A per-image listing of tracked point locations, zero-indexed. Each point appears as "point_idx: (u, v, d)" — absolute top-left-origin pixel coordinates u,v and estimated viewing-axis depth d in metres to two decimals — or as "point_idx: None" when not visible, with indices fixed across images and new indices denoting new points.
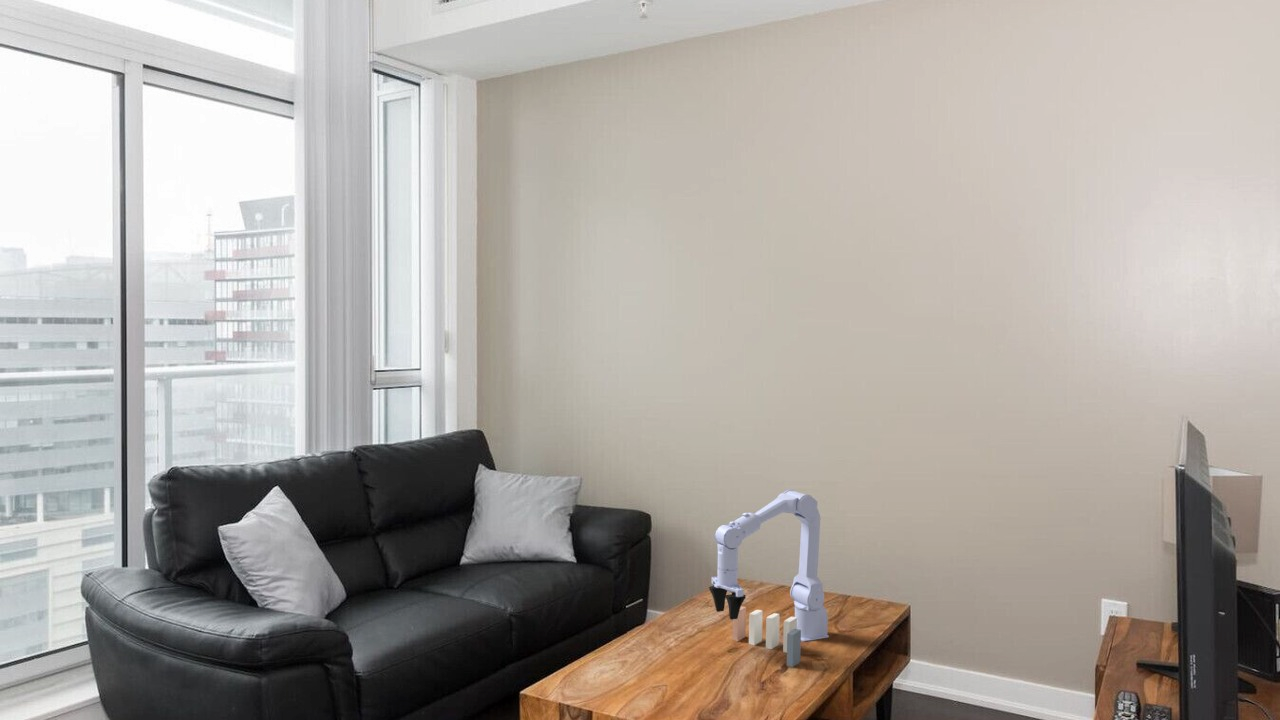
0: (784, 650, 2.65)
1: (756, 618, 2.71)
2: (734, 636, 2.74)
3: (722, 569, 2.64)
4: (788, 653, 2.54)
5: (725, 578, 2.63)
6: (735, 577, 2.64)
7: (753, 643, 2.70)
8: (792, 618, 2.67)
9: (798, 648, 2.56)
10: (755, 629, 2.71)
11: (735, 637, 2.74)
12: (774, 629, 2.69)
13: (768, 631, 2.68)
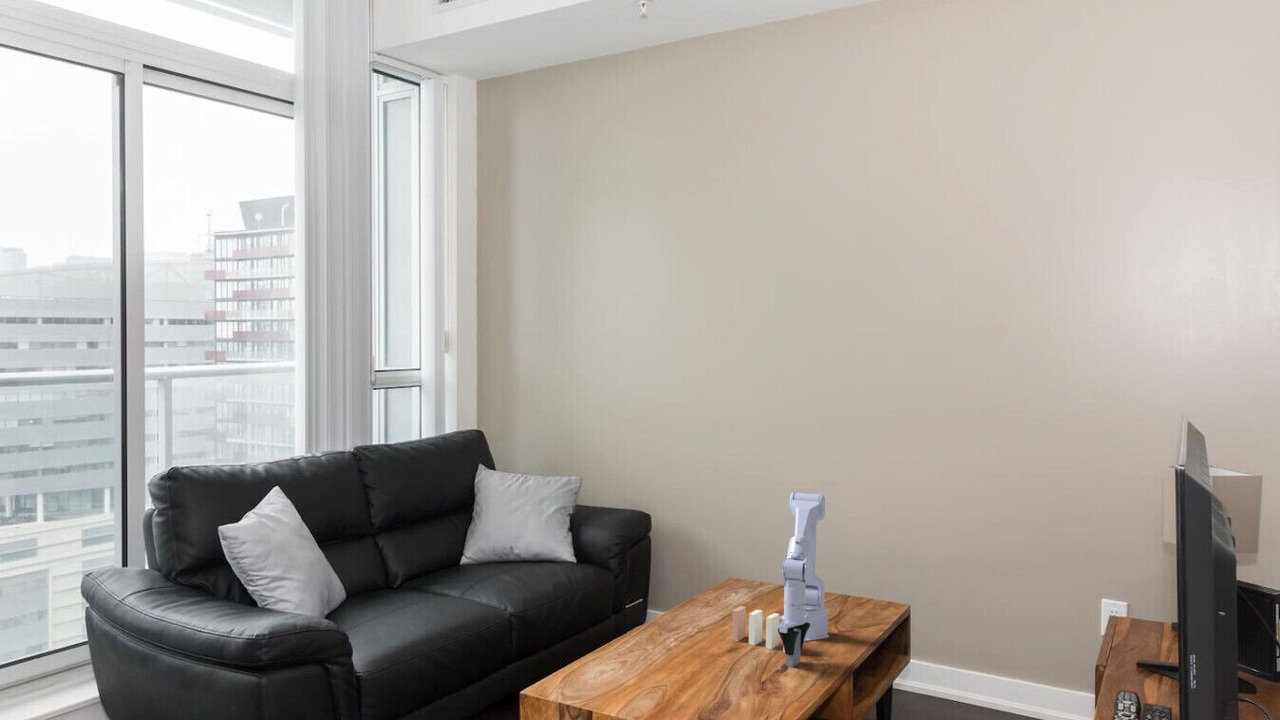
0: (784, 650, 2.65)
1: (756, 618, 2.71)
2: (734, 636, 2.74)
3: (784, 601, 2.56)
4: None
5: (784, 611, 2.55)
6: (794, 613, 2.53)
7: (753, 643, 2.70)
8: None
9: (798, 648, 2.56)
10: (755, 629, 2.71)
11: (735, 637, 2.74)
12: (774, 629, 2.69)
13: (768, 631, 2.68)
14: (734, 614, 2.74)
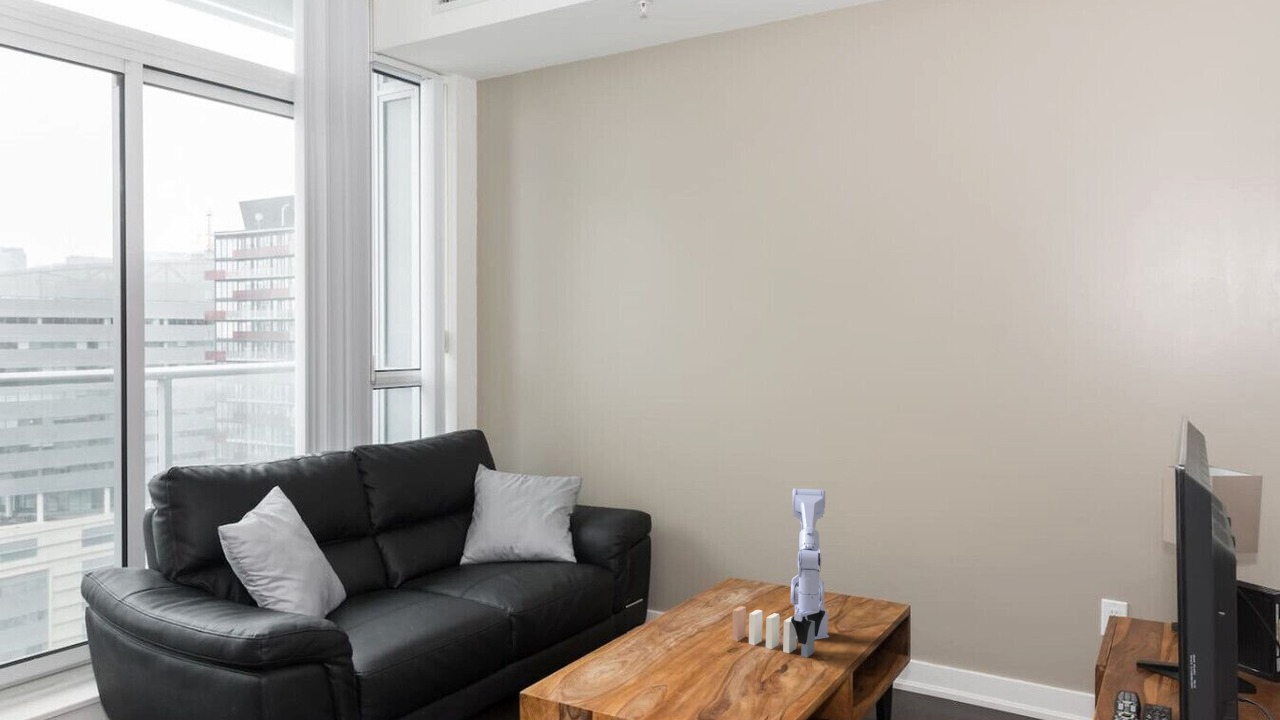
0: (784, 650, 2.65)
1: (756, 618, 2.71)
2: (734, 636, 2.74)
3: (798, 591, 2.63)
4: (803, 644, 2.62)
5: (799, 600, 2.62)
6: (808, 602, 2.60)
7: (753, 643, 2.70)
8: None
9: (812, 639, 2.64)
10: (755, 629, 2.71)
11: (735, 637, 2.74)
12: (775, 629, 2.69)
13: (768, 631, 2.68)
14: (734, 614, 2.74)
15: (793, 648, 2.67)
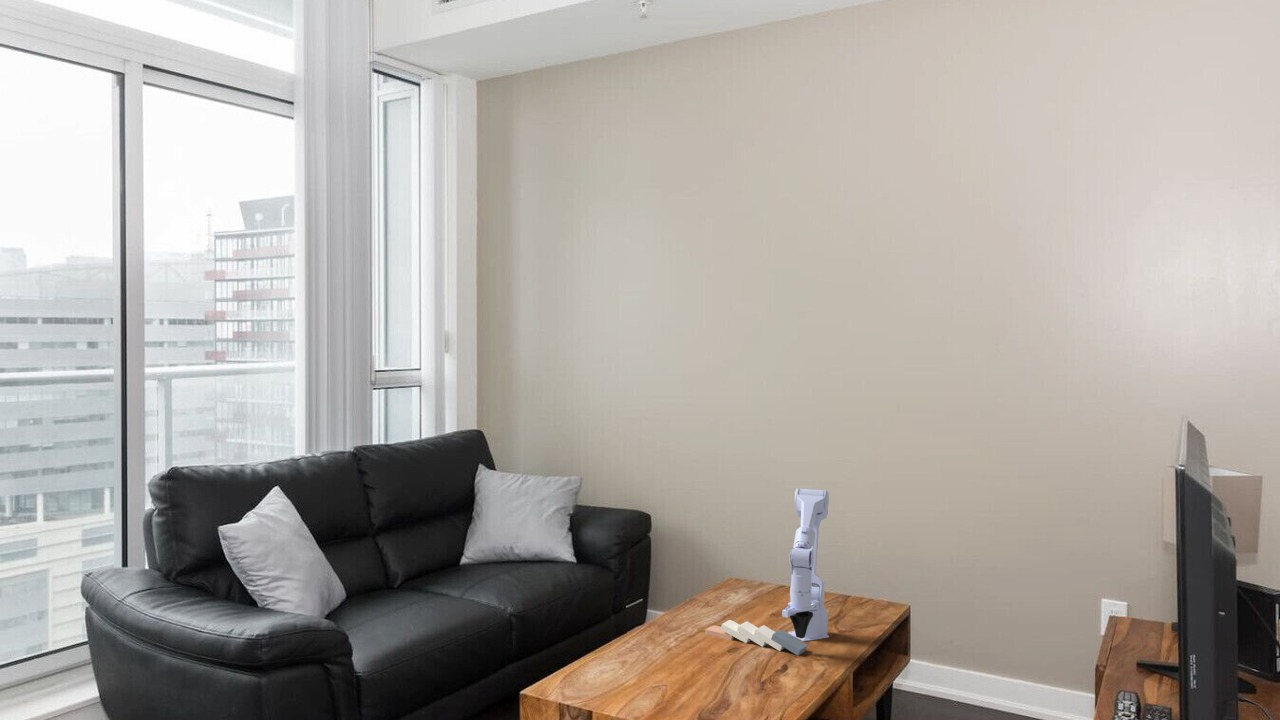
0: (778, 649, 2.66)
1: (727, 625, 2.77)
2: (727, 637, 2.75)
3: None
4: (787, 647, 2.64)
5: (791, 597, 2.64)
6: (798, 600, 2.62)
7: (746, 637, 2.72)
8: None
9: (792, 639, 2.67)
10: (735, 630, 2.74)
11: (728, 637, 2.75)
12: (752, 630, 2.73)
13: (748, 635, 2.71)
14: None
15: None
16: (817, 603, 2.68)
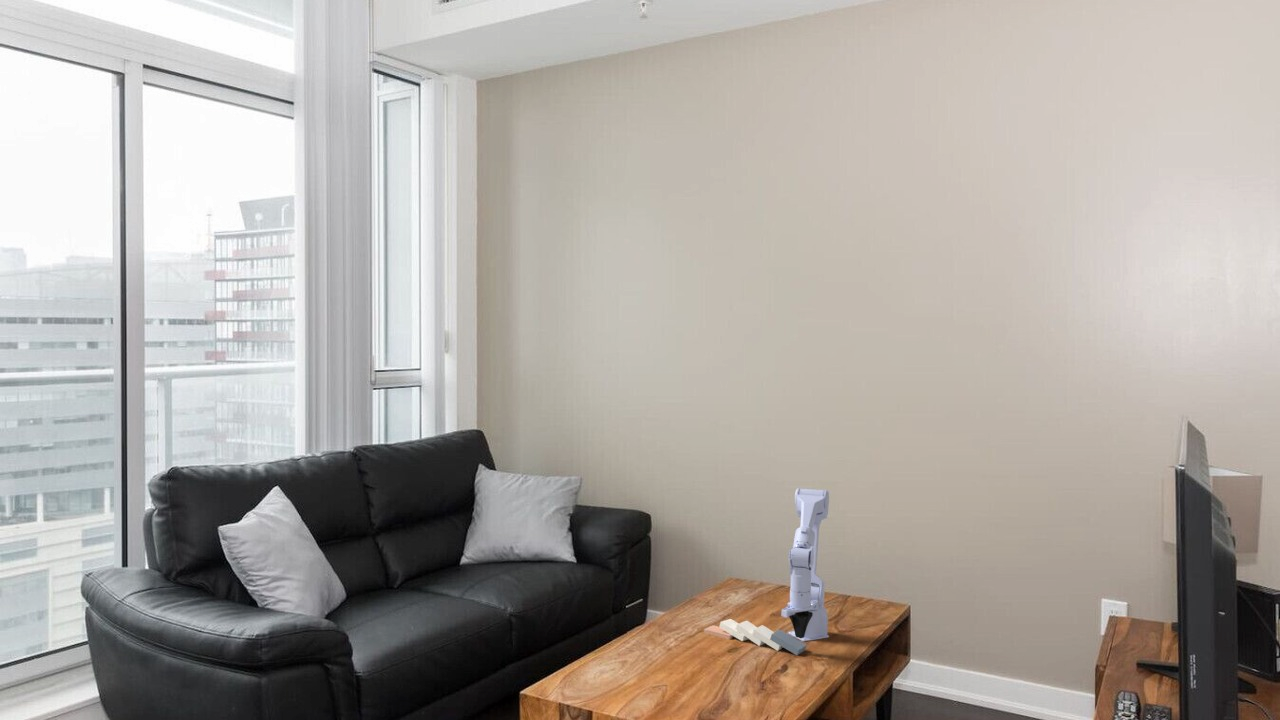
0: (776, 648, 2.66)
1: (726, 623, 2.79)
2: (725, 637, 2.76)
3: None
4: (786, 647, 2.64)
5: (790, 597, 2.64)
6: (798, 600, 2.62)
7: (742, 635, 2.73)
8: None
9: (791, 638, 2.67)
10: (732, 628, 2.76)
11: (726, 637, 2.76)
12: (751, 629, 2.74)
13: (746, 634, 2.73)
14: (707, 633, 2.80)
15: None
16: (817, 603, 2.68)
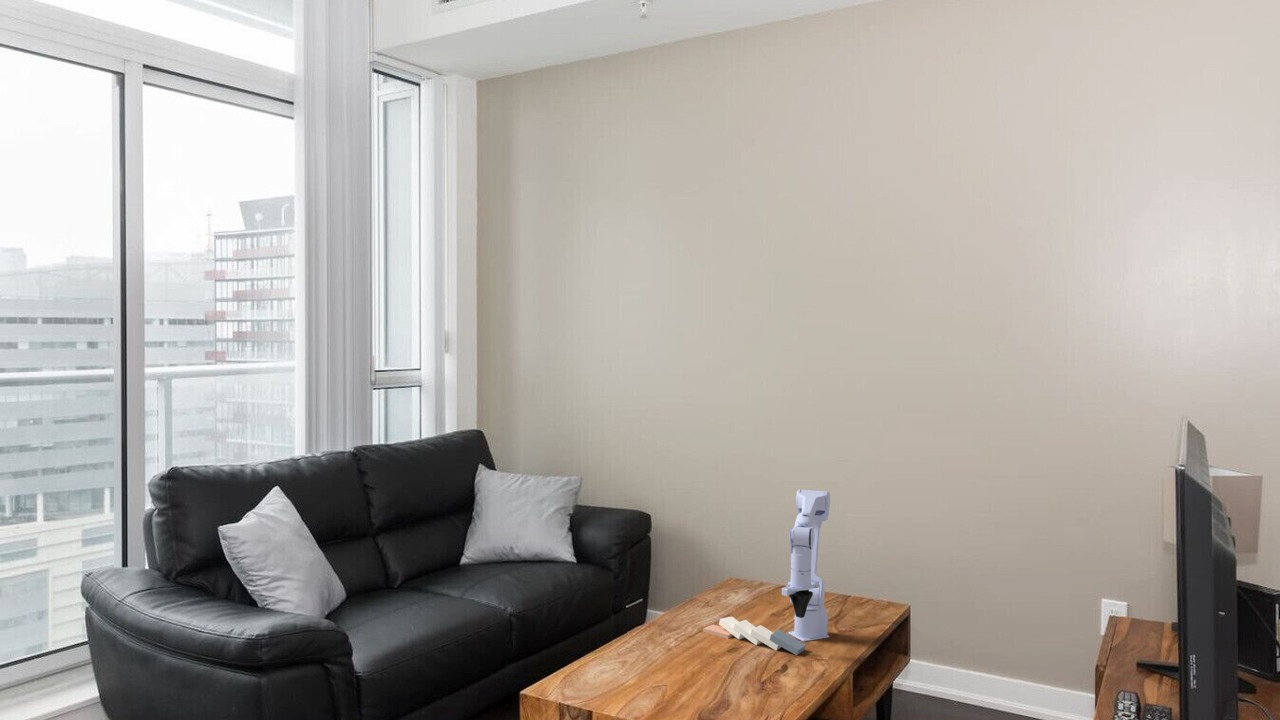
0: (774, 648, 2.66)
1: (725, 620, 2.81)
2: (724, 637, 2.77)
3: None
4: (786, 647, 2.64)
5: None
6: (798, 579, 2.61)
7: (738, 633, 2.75)
8: None
9: (791, 639, 2.67)
10: (731, 625, 2.78)
11: (724, 636, 2.76)
12: (748, 628, 2.75)
13: (744, 633, 2.73)
14: None
15: None
16: (817, 583, 2.67)
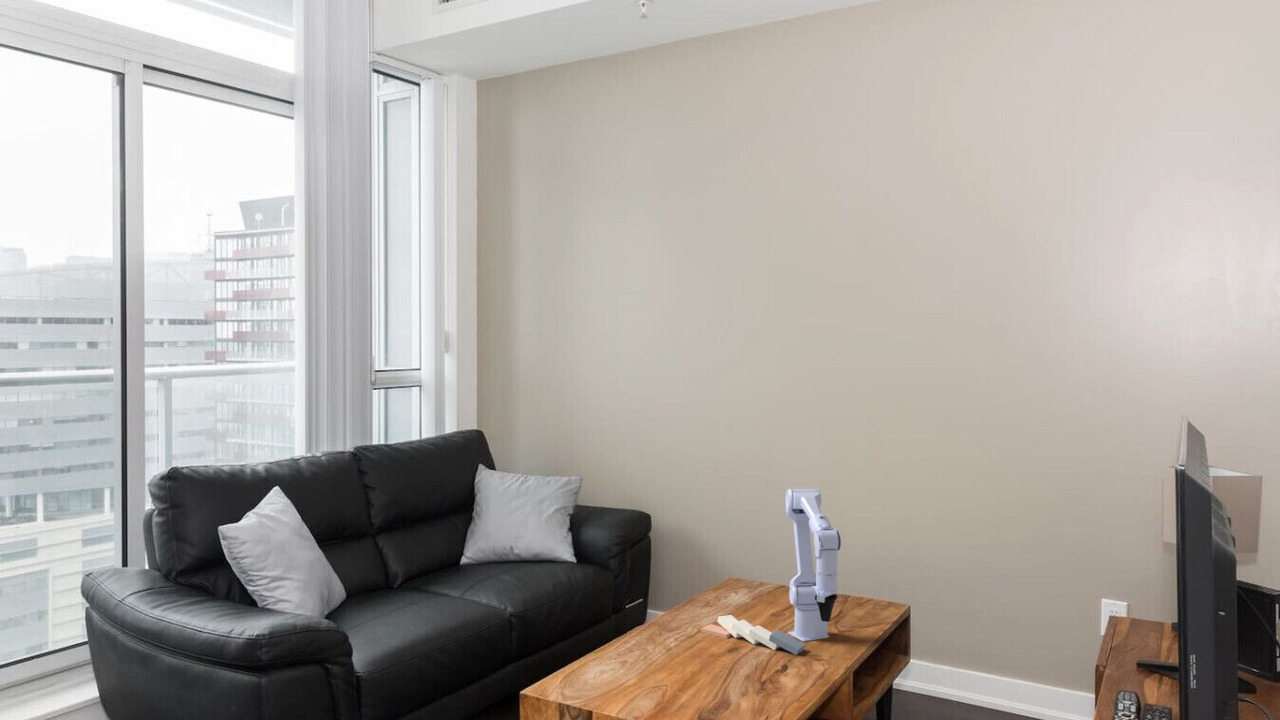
0: (773, 648, 2.67)
1: (724, 618, 2.82)
2: (722, 636, 2.77)
3: (816, 572, 2.60)
4: (785, 647, 2.65)
5: (817, 581, 2.59)
6: (828, 583, 2.58)
7: (735, 632, 2.76)
8: None
9: (790, 639, 2.68)
10: (729, 624, 2.79)
11: (723, 636, 2.77)
12: (746, 628, 2.75)
13: (741, 632, 2.74)
14: None
15: None
16: None
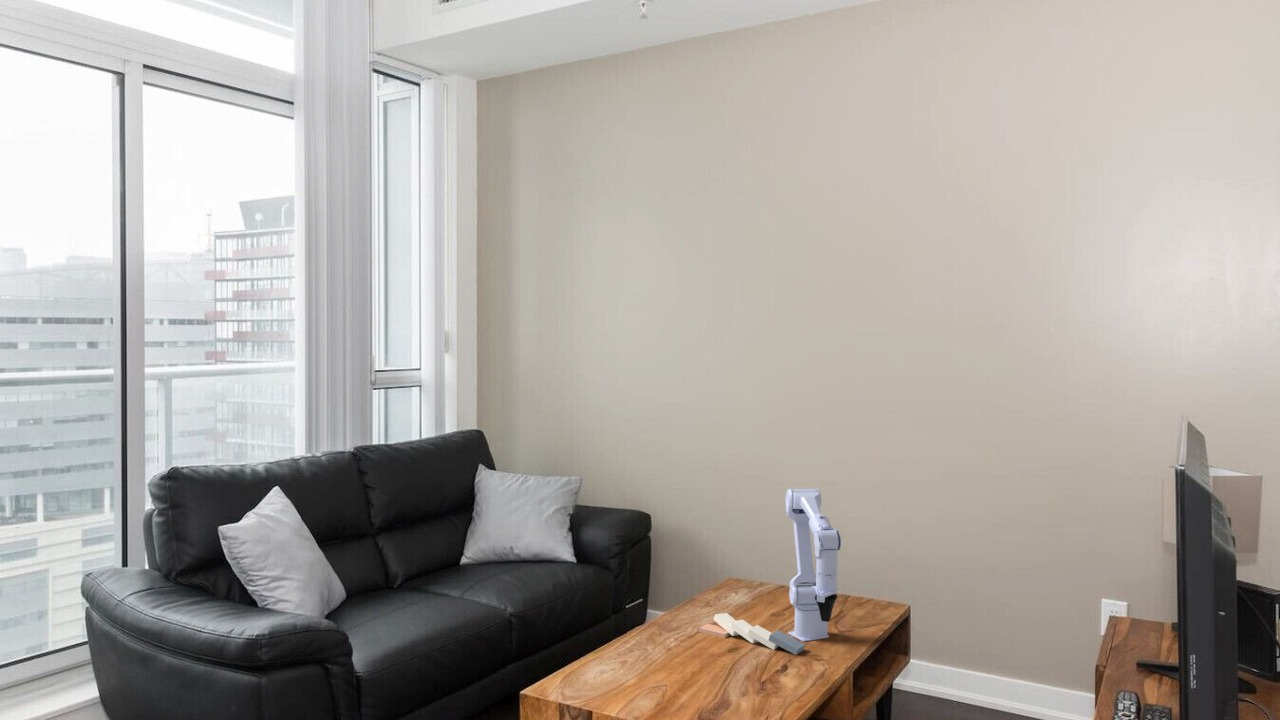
0: (772, 647, 2.67)
1: (720, 616, 2.82)
2: (720, 636, 2.77)
3: (816, 572, 2.60)
4: (785, 647, 2.65)
5: (817, 581, 2.59)
6: (828, 583, 2.58)
7: (732, 630, 2.76)
8: None
9: (790, 639, 2.68)
10: (725, 622, 2.80)
11: (721, 635, 2.77)
12: (745, 627, 2.76)
13: (740, 632, 2.74)
14: (702, 632, 2.81)
15: None
16: None
